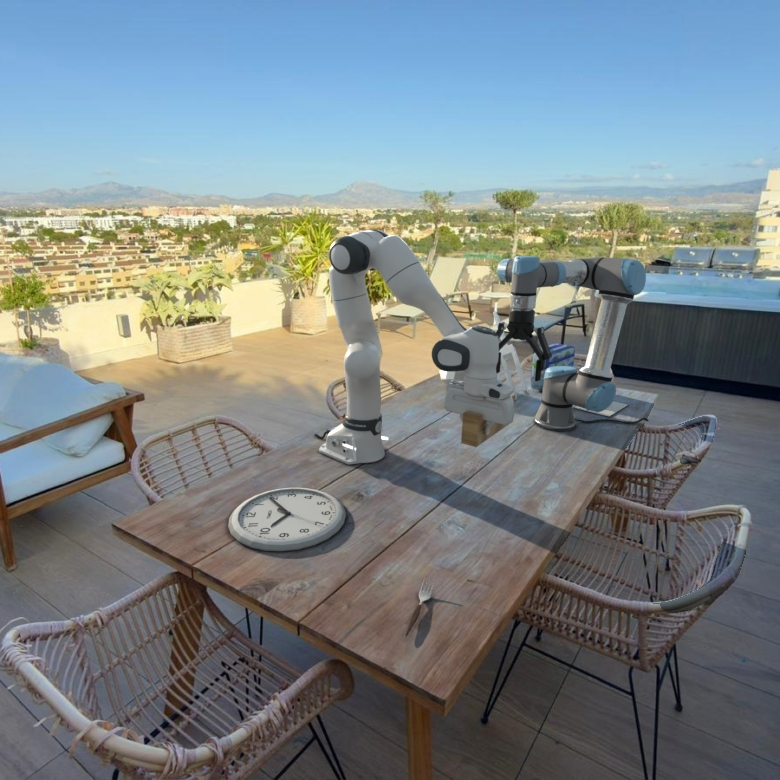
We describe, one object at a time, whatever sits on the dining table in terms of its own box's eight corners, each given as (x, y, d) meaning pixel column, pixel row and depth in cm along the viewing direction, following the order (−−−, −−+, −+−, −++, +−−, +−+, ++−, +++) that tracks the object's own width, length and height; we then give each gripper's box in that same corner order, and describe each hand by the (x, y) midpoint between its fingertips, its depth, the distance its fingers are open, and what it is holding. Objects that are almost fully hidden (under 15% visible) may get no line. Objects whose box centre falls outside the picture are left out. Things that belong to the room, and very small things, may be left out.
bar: (498, 418, 168) (501, 391, 165) (512, 421, 165) (515, 394, 163) (460, 443, 148) (462, 412, 145) (476, 447, 145) (478, 416, 143)
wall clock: (346, 543, 123) (215, 547, 120) (346, 549, 123) (215, 553, 121) (345, 483, 151) (239, 485, 149) (345, 488, 152) (240, 490, 149)
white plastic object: (461, 429, 252) (437, 405, 227) (444, 352, 274) (420, 323, 250) (535, 404, 240) (518, 377, 215) (510, 326, 262) (492, 293, 237)
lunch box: (547, 395, 239) (552, 351, 233) (526, 390, 247) (530, 347, 240) (574, 384, 257) (579, 343, 251) (554, 380, 264) (558, 339, 258)
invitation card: (608, 416, 214) (573, 407, 224) (608, 416, 214) (573, 408, 224) (628, 404, 229) (594, 396, 238) (628, 405, 229) (594, 397, 238)
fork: (398, 636, 97) (399, 628, 97) (423, 584, 111) (423, 576, 111) (412, 640, 96) (412, 631, 96) (435, 587, 111) (435, 579, 110)
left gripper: (441, 381, 148) (439, 426, 152) (509, 395, 137) (504, 443, 141) (452, 376, 153) (449, 420, 157) (518, 389, 142) (513, 436, 146)
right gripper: (479, 306, 162) (475, 372, 168) (558, 314, 148) (551, 386, 154) (490, 303, 168) (486, 367, 174) (567, 311, 153) (560, 380, 160)
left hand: (476, 431), depth 149 cm, fingers closed on bar, 5 cm apart
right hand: (516, 376), depth 164 cm, fingers open, 13 cm apart
